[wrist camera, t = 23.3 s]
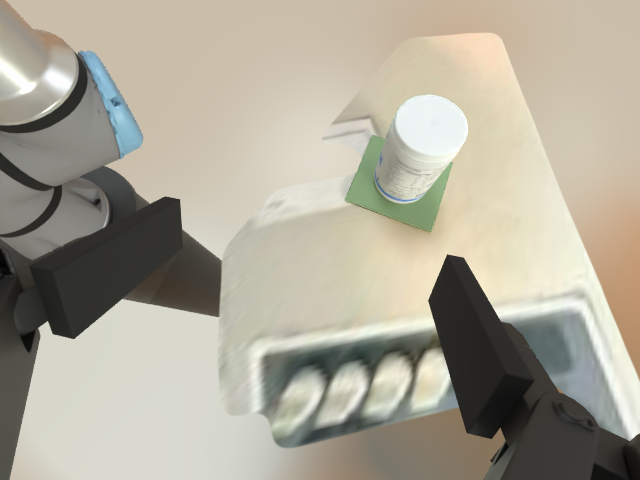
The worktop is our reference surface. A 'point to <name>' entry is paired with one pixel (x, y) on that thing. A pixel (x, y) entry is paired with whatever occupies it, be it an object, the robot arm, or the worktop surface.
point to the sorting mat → (372, 199)
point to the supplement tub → (419, 147)
